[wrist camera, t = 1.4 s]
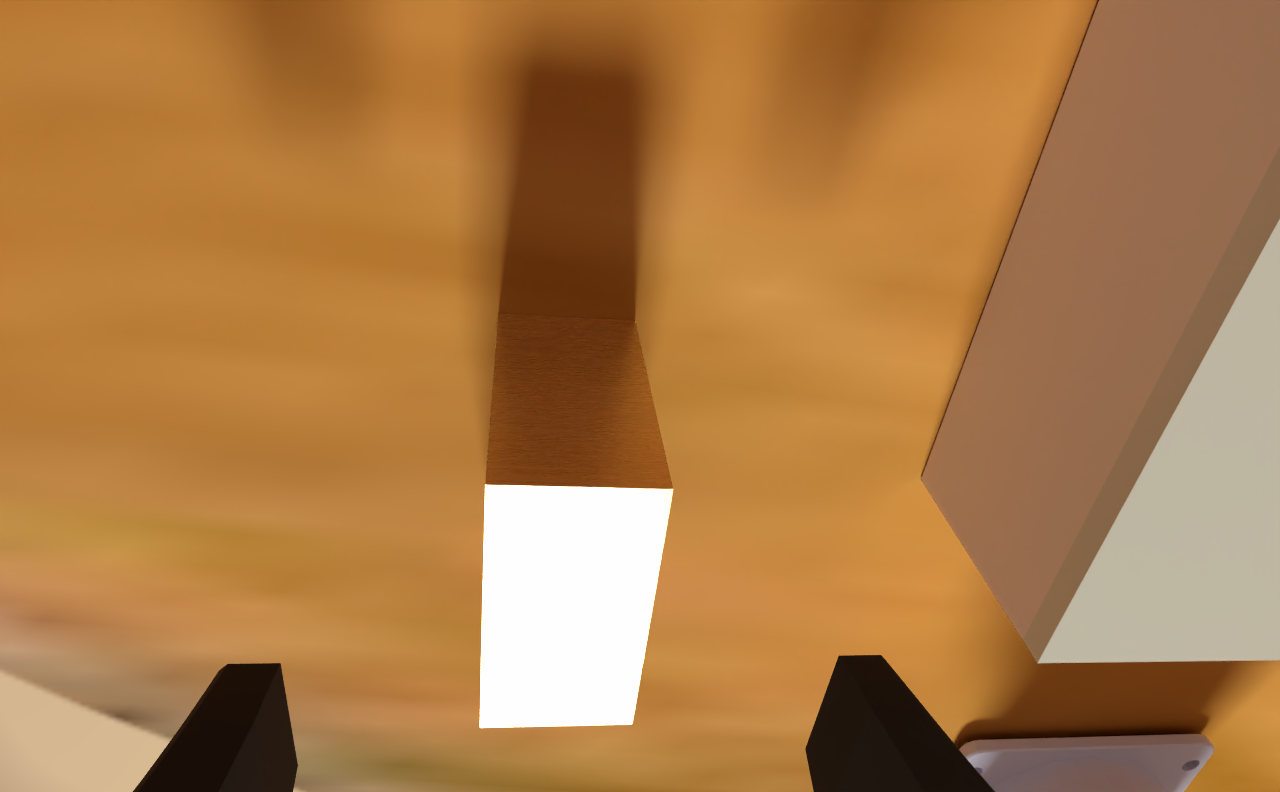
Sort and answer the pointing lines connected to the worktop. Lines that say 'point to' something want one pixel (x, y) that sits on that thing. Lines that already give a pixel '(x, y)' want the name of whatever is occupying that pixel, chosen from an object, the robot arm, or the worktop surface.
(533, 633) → the wooden block
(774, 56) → the worktop surface
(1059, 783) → the robot arm
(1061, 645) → the box
